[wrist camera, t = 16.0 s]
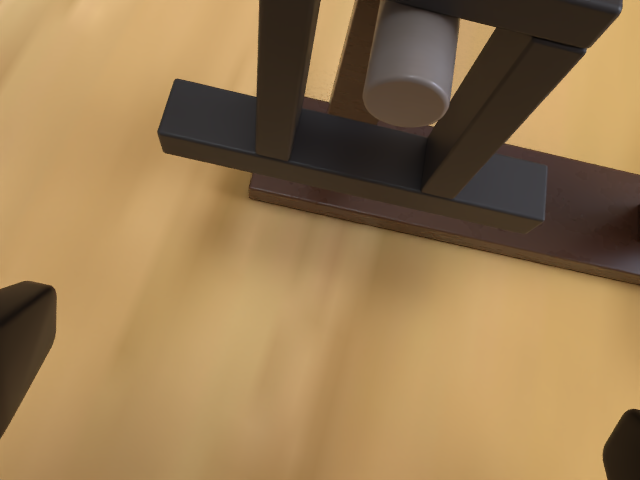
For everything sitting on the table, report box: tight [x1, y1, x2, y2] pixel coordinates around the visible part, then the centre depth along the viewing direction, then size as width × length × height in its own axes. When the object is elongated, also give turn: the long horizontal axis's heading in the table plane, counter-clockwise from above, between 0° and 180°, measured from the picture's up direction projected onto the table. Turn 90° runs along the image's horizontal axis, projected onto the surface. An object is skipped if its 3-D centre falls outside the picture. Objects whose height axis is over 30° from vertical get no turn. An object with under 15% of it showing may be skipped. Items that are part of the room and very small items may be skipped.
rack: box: [249, 0, 640, 285], centre depth 15 cm, size 8×19×14 cm, turn 79°
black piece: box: [157, 0, 623, 234], centre depth 10 cm, size 2×9×7 cm, turn 79°
